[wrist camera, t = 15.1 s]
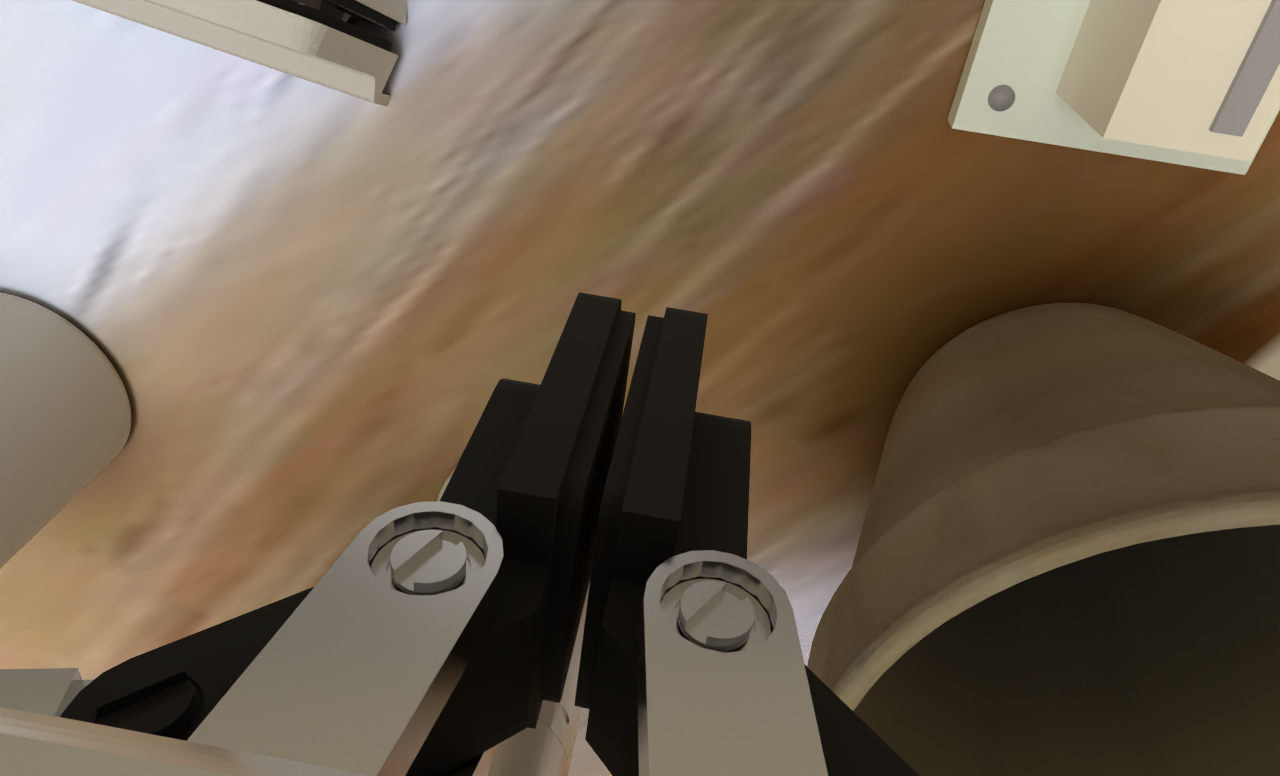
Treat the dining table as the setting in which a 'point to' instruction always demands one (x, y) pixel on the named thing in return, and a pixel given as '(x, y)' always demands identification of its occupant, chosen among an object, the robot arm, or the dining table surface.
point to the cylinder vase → (51, 417)
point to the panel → (1042, 84)
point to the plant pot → (1070, 558)
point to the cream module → (1178, 73)
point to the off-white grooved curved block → (284, 35)
